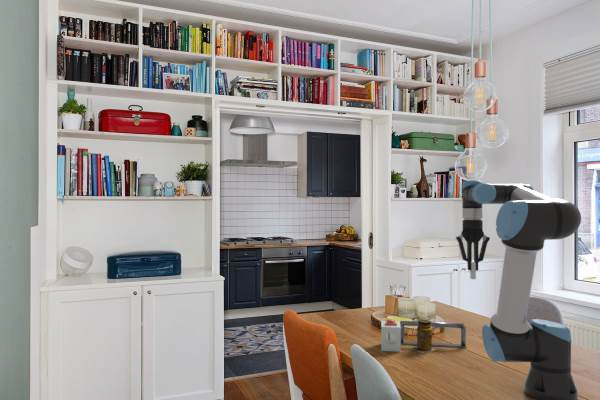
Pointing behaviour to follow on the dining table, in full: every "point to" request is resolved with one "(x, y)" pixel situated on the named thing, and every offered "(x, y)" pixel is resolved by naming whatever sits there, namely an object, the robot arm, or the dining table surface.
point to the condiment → (424, 337)
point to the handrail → (436, 324)
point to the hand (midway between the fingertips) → (473, 278)
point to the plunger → (390, 322)
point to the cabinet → (390, 337)
